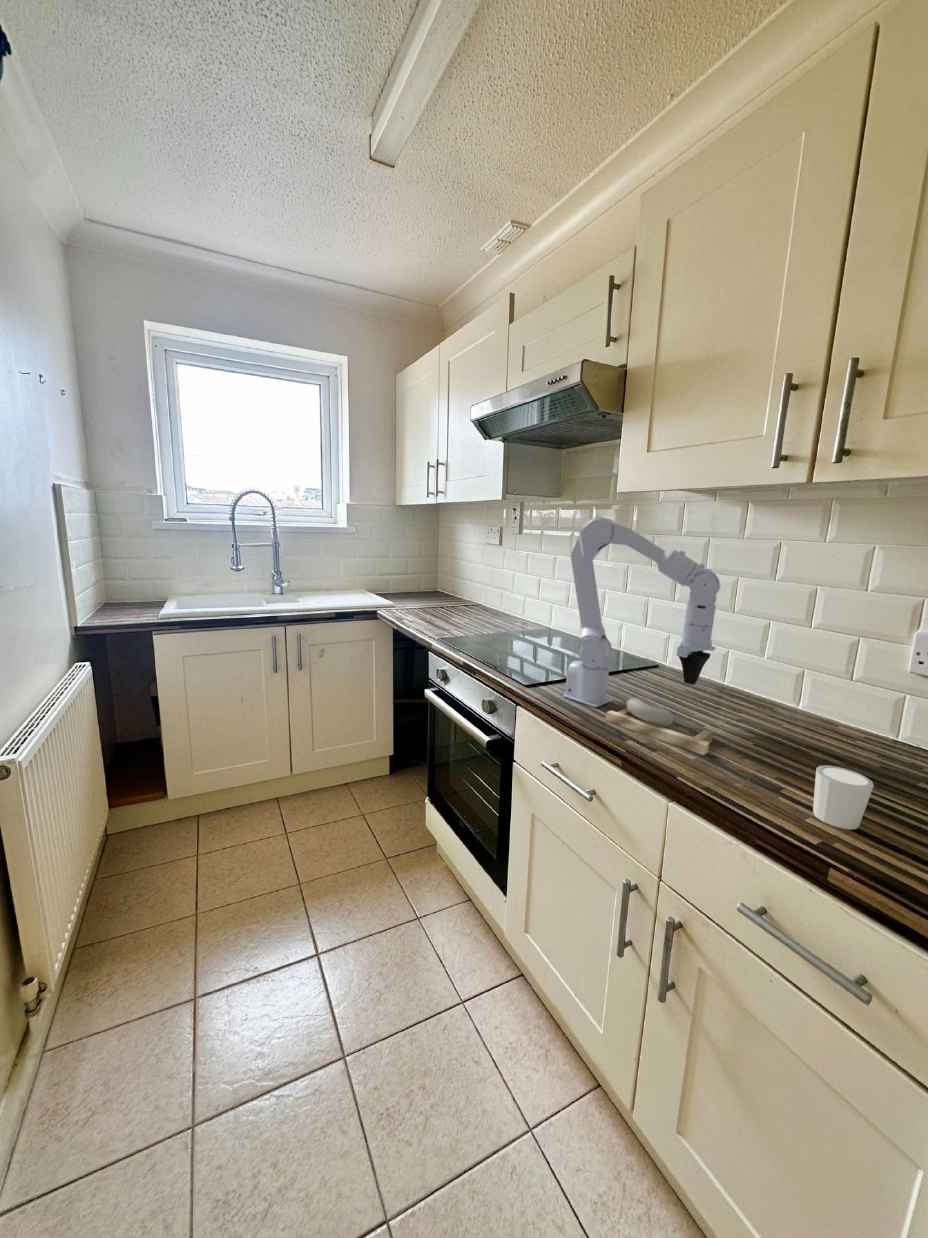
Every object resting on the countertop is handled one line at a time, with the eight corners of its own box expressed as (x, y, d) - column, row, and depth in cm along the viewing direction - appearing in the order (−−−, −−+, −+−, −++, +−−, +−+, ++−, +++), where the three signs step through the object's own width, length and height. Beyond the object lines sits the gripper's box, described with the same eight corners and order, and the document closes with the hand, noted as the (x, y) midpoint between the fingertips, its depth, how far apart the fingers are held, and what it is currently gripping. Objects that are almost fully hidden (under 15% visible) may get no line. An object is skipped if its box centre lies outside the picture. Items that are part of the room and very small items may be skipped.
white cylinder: (872, 837, 70) (882, 792, 69) (815, 824, 72) (823, 781, 71) (854, 812, 76) (863, 770, 75) (802, 801, 79) (810, 761, 77)
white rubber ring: (685, 719, 102) (644, 706, 100) (679, 734, 103) (638, 721, 101) (659, 703, 112) (621, 690, 110) (653, 717, 112) (616, 705, 110)
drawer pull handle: (605, 720, 108) (606, 712, 108) (623, 712, 114) (624, 704, 113) (703, 755, 94) (705, 745, 93) (719, 744, 99) (720, 734, 99)
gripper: (704, 631, 101) (695, 694, 103) (729, 624, 111) (720, 682, 113) (670, 625, 106) (662, 685, 108) (697, 619, 116) (689, 674, 118)
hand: (689, 683), depth 111 cm, fingers closed
